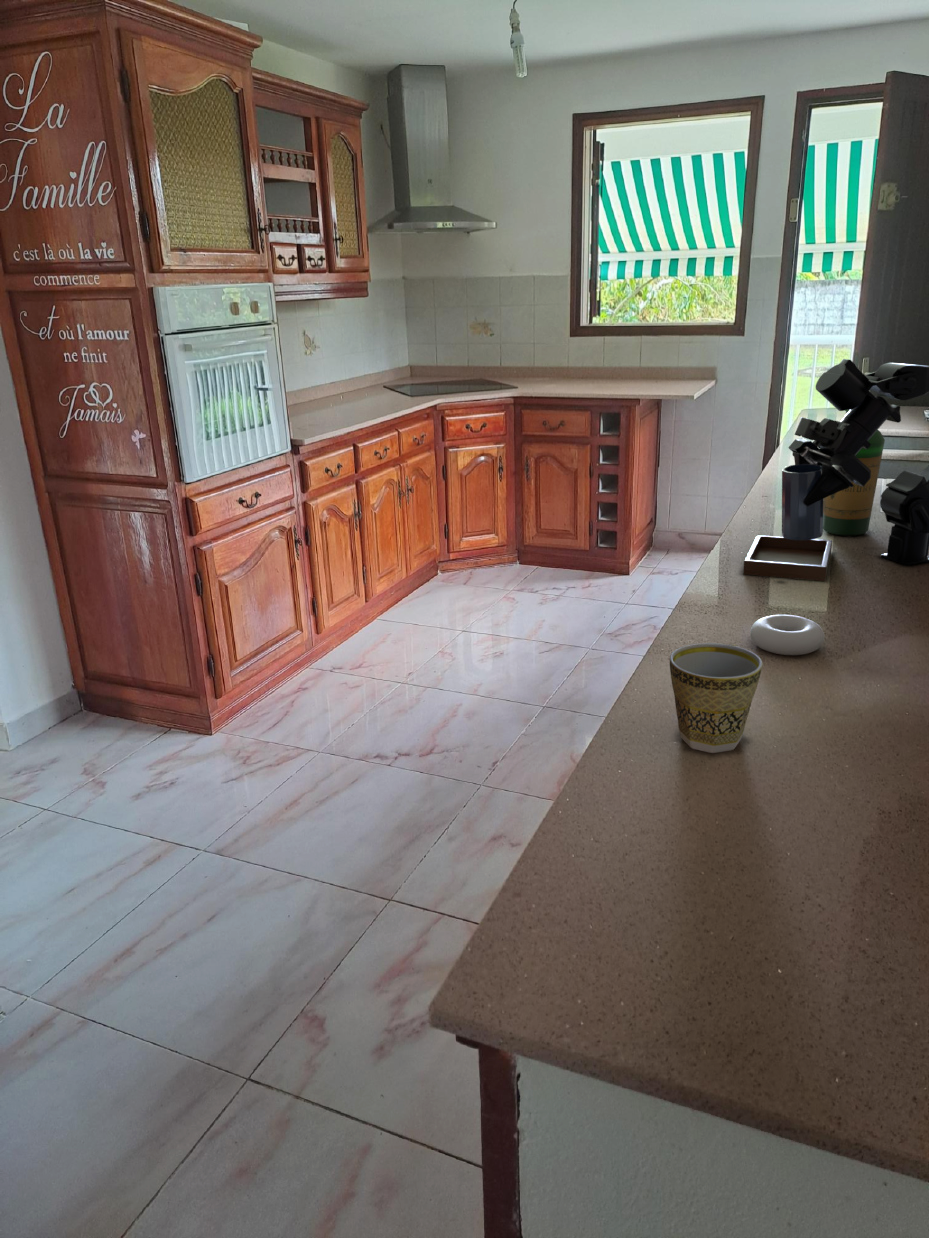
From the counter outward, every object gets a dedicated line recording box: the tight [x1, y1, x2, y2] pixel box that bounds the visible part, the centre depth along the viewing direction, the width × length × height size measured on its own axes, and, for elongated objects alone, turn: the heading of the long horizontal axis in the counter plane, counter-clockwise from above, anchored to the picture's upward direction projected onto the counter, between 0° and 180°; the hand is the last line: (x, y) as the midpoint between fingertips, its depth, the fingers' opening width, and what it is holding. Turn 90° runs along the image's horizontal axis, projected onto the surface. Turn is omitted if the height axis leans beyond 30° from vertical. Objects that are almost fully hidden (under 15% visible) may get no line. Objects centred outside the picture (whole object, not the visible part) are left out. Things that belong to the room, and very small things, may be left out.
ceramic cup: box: [668, 642, 763, 754], centre depth 101 cm, size 13×10×10 cm
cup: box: [781, 464, 824, 540], centre depth 154 cm, size 7×7×12 cm
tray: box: [742, 534, 833, 582], centre depth 161 cm, size 18×14×3 cm
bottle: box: [823, 390, 886, 537], centre depth 175 cm, size 11×11×28 cm
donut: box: [749, 614, 825, 656], centre depth 126 cm, size 10×4×10 cm
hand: (795, 499), depth 154 cm, fingers closed on cup, 7 cm apart
